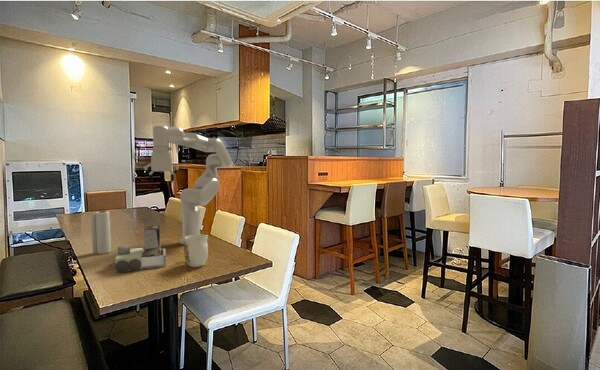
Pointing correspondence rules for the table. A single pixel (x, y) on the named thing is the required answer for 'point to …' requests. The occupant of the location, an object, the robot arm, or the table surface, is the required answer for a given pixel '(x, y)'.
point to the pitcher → (196, 250)
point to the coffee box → (152, 241)
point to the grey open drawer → (154, 260)
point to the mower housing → (128, 259)
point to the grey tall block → (101, 232)
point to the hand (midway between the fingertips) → (162, 182)
